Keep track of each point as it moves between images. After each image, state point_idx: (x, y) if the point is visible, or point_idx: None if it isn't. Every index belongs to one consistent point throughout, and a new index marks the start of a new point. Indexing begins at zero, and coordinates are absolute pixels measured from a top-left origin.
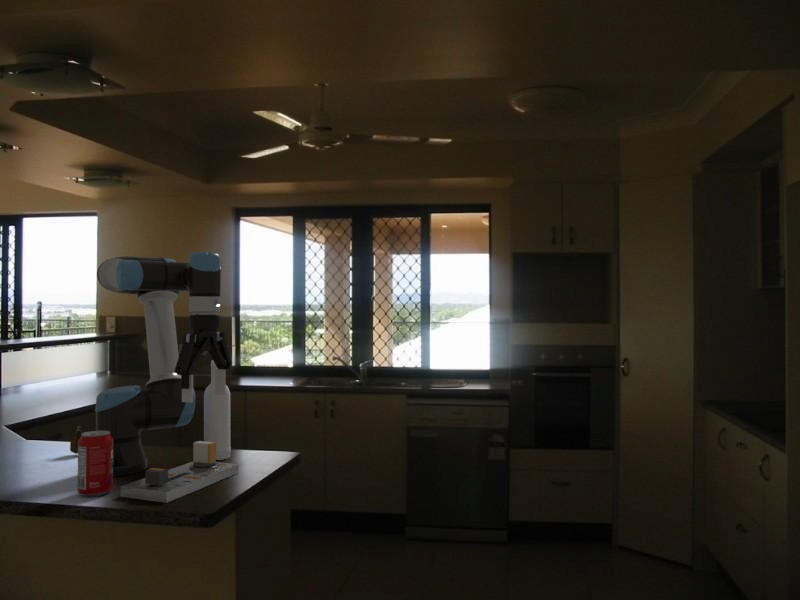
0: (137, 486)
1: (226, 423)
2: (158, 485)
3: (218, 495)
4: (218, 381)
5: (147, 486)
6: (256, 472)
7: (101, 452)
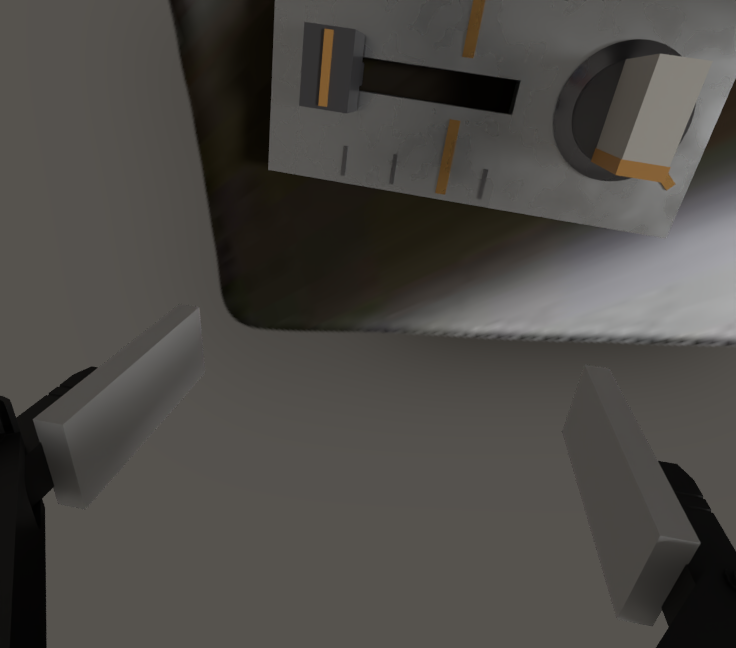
0: (295, 8)
1: None
2: None
3: (380, 279)
4: (602, 465)
5: None
6: (664, 288)
7: None
